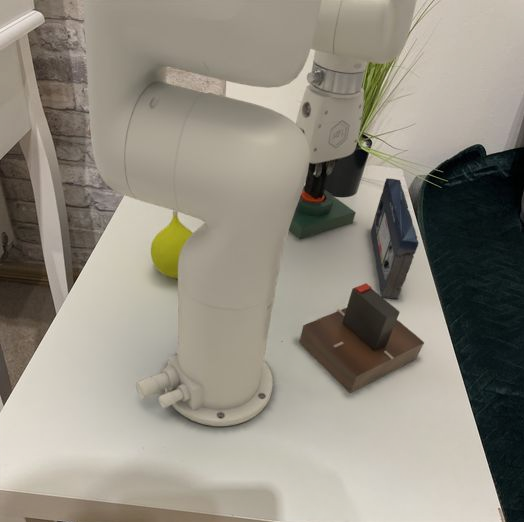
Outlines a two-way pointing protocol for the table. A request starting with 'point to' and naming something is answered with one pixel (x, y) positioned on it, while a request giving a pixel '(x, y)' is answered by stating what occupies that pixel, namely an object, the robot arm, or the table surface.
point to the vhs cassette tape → (393, 239)
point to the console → (357, 350)
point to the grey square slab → (370, 316)
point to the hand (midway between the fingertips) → (313, 194)
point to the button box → (320, 216)
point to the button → (311, 198)
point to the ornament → (169, 246)
